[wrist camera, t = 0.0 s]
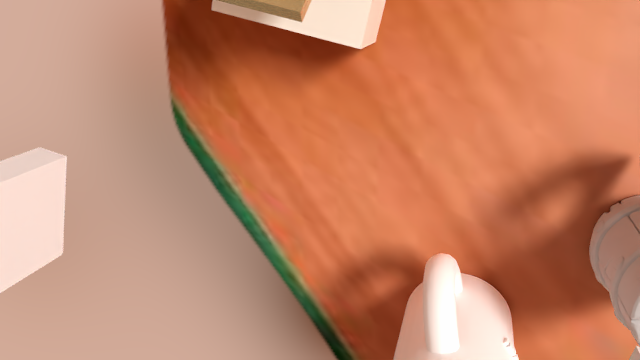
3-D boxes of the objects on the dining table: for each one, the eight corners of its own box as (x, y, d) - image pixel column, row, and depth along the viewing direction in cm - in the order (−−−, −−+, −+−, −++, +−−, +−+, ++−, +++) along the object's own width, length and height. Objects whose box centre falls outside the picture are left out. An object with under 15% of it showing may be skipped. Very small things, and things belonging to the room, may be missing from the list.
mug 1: (503, 218, 39) (511, 306, 28) (519, 361, 42) (532, 489, 31) (390, 227, 42) (358, 310, 31) (414, 361, 45) (391, 479, 34)
